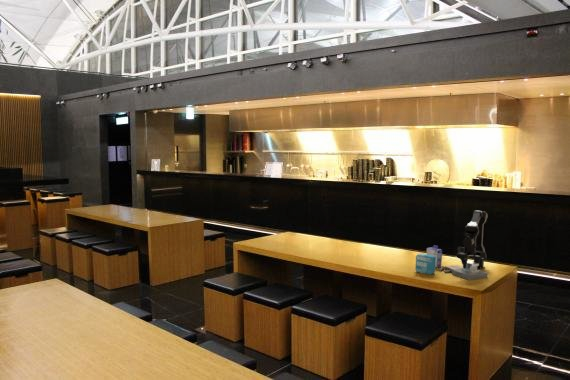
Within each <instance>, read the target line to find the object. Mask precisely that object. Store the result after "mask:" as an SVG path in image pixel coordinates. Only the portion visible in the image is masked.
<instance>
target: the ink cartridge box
mask: <svg viewBox="0 0 570 380" xmlns="http://www.w3.org/2000/svg"><path fill="white" fill-rule="evenodd" d="M426 255H433V256H435V258H436V260H435V268H441V267H442V261H443V249H441V248H439V246H438V245H435V244H434V245H433V246H432V247H427V248H426Z"/></svg>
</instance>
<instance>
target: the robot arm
mask: <svg viewBox="0 0 570 380" xmlns="http://www.w3.org/2000/svg"><path fill="white" fill-rule="evenodd" d="M487 219H488V213H487V212H486V211H482V210H477V209H476V210H474V211H473V214H472V218H471V219H470V222H469V223H468V222H467V225H466V226H465V228H464V232H463V237H465V238H464V239H463V241H462V245H463V246H464V247H462V246H457V253H456V258H458V259H460V262H461V264H462V267H464V268H466V265H467V261H468V260H469V258H468V257H471V259H473V262H476V263H479V266H477V270H479V269H486V267H485V266H484V264H485V263H484V262H485V261H486V260H487V253H486V250H485V246H484V245H483V241H484V239H483V238H484V224H486V222H487Z"/></svg>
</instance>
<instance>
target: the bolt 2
mask: <svg viewBox="0 0 570 380" xmlns="http://www.w3.org/2000/svg"><path fill="white" fill-rule="evenodd" d="M452 270H453V269H450V270H446V269H445V270H443V271H444V273H445V274H447V273H452Z"/></svg>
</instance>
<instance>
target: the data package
mask: <svg viewBox="0 0 570 380" xmlns="http://www.w3.org/2000/svg"><path fill="white" fill-rule="evenodd" d="M435 260H436V258H435V256H433V255H427V253H418V254H416V255H415V269H414V270H415V271H416V272H417V273H419V274H420V273H421V274H427V275H433V274H435V273H436V267H435Z"/></svg>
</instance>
